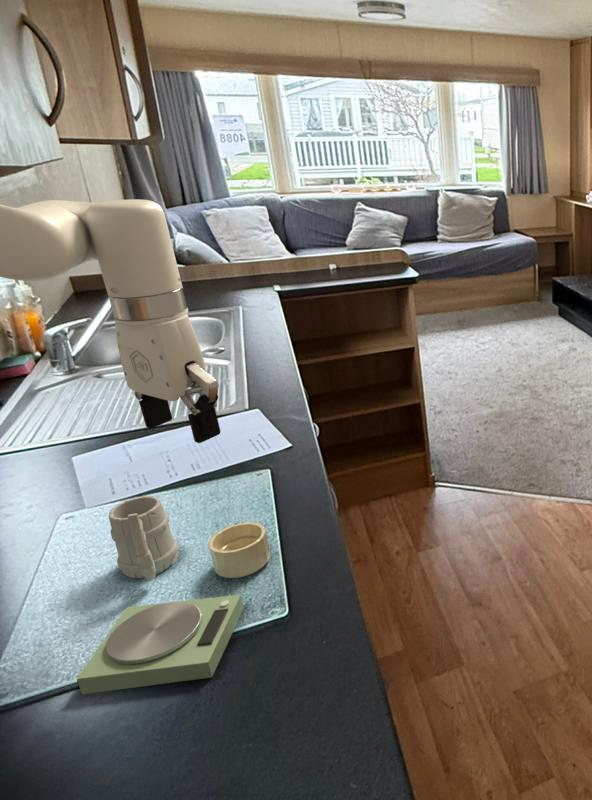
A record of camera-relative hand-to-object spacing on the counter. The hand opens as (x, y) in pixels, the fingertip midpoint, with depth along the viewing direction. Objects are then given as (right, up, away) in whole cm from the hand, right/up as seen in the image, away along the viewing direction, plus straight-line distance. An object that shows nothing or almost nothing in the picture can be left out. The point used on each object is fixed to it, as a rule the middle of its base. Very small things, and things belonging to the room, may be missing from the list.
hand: (183, 431), depth 85 cm
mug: (-12, -22, +11) cm, 28 cm away
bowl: (+1, -21, +13) cm, 25 cm away
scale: (0, -27, -3) cm, 27 cm away
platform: (-1, -25, -4) cm, 25 cm away
